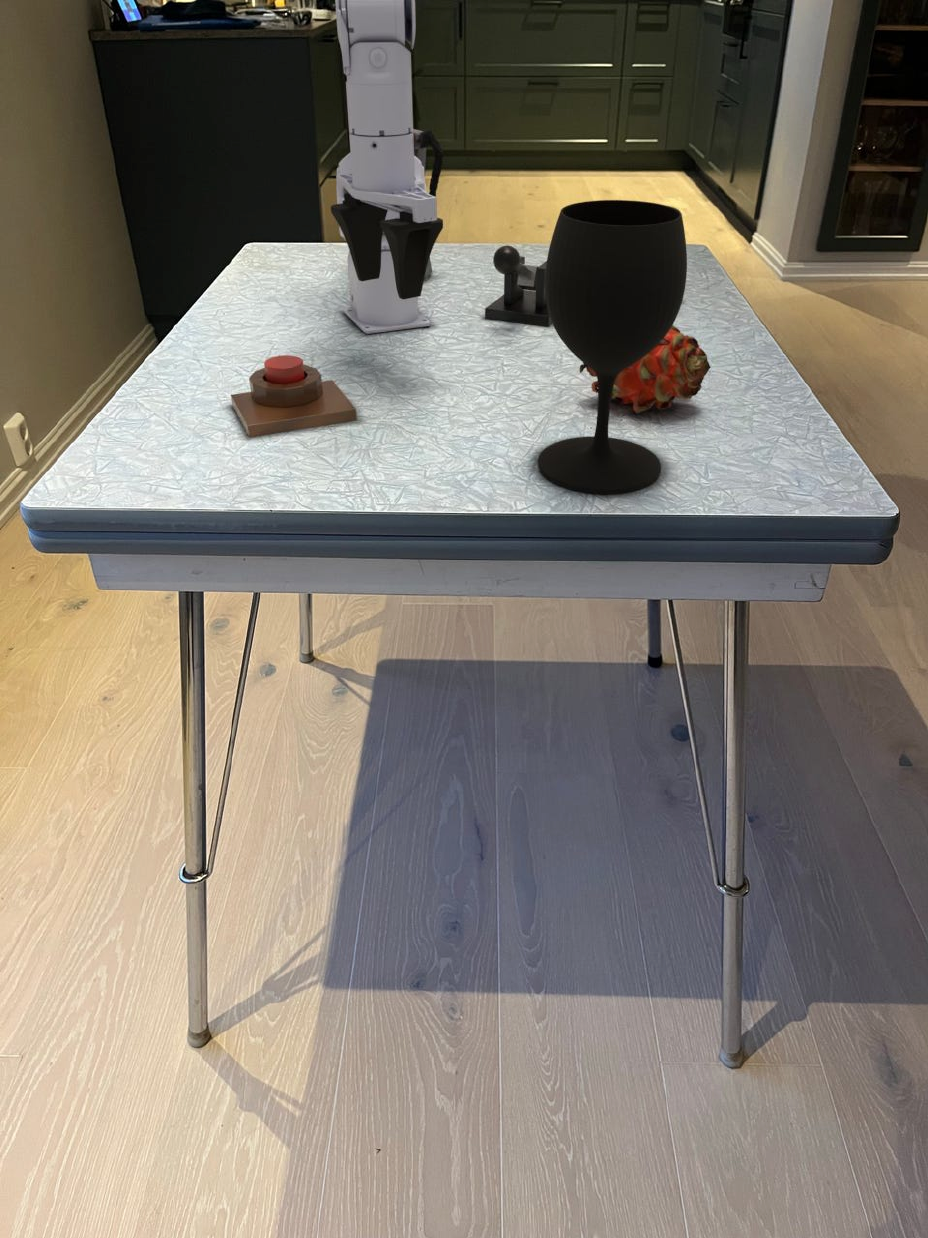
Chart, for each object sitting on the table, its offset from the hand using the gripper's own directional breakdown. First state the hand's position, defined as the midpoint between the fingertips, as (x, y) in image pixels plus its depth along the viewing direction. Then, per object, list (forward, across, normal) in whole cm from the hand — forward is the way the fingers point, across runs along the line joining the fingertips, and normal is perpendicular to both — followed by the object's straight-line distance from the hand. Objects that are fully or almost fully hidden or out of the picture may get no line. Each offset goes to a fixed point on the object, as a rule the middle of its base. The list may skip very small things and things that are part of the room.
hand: (388, 287), depth 92 cm
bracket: (+9, +9, -25) cm, 28 cm away
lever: (+4, +6, -21) cm, 22 cm away
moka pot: (+9, +31, -21) cm, 39 cm away
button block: (+9, -3, +13) cm, 16 cm away
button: (+6, -1, +12) cm, 14 cm away
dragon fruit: (+9, -21, -15) cm, 27 cm away
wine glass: (+9, -28, -3) cm, 30 cm away
